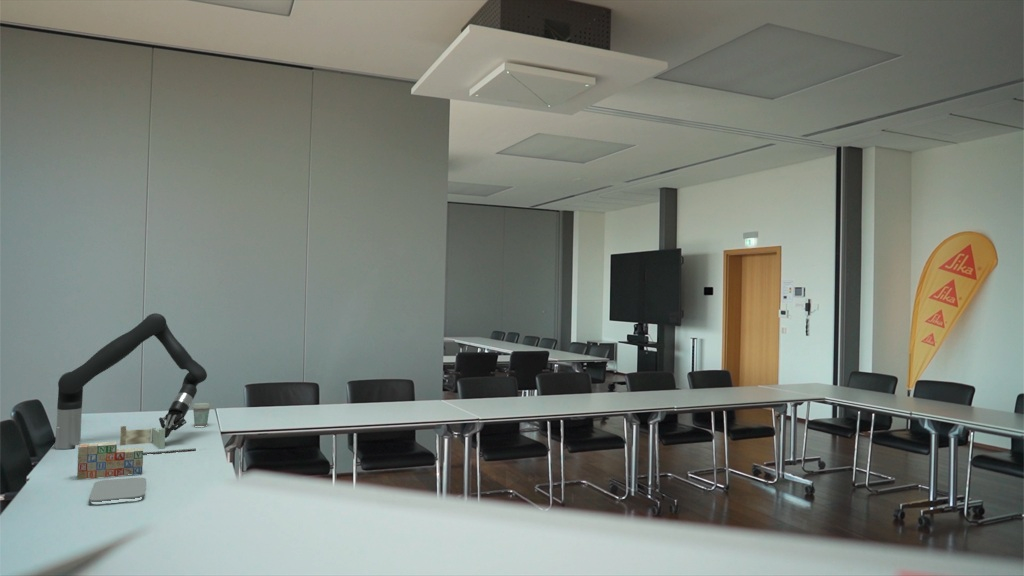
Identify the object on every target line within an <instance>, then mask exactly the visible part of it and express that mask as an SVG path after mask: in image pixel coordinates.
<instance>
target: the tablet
mask: <svg viewBox="0 0 1024 576" xmlns="http://www.w3.org/2000/svg"><path fill="white" fill-rule="evenodd" d="M146 487H147V478H146V477H129V478H127V477H126V478H116V479H114V478H113V479H104V480H98V481H95V482H93V486H92V488H91V492H90V494H89V497H88V501H89V502H102V501H111V500H119V499H135V498H140V497H145V496H146Z"/></svg>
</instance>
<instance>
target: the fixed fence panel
mask: <svg viewBox="0 0 1024 576" xmlns="http://www.w3.org/2000/svg"><path fill="white" fill-rule="evenodd" d="M119 439H120V441H119V445H120V446H130V445H145V444H152V443H151V442H152V428H143V429H128V430H127V425H121V426H120V438H119Z"/></svg>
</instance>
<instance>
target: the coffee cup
mask: <svg viewBox="0 0 1024 576" xmlns="http://www.w3.org/2000/svg"><path fill="white" fill-rule="evenodd" d="M192 408H193V409H192V411H193V423H194V427H195V426H206V425H207V426H208V421H209V414H210V409H211V404H210V402H195V403H193V405H192ZM207 426H206V427H207Z"/></svg>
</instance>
